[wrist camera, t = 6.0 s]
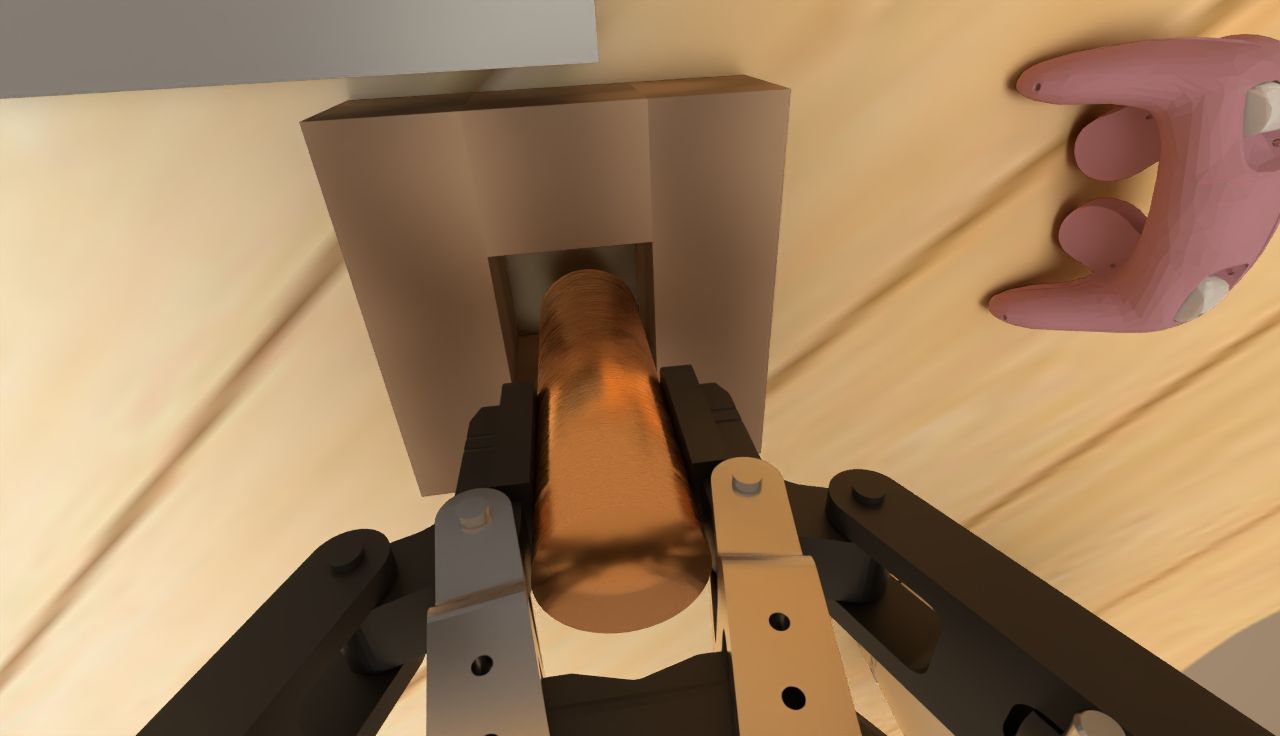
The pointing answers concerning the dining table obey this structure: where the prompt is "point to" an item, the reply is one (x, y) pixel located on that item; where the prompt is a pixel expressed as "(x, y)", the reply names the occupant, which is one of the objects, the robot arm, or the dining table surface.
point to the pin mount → (553, 232)
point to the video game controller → (1162, 180)
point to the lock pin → (608, 469)
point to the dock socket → (275, 41)
